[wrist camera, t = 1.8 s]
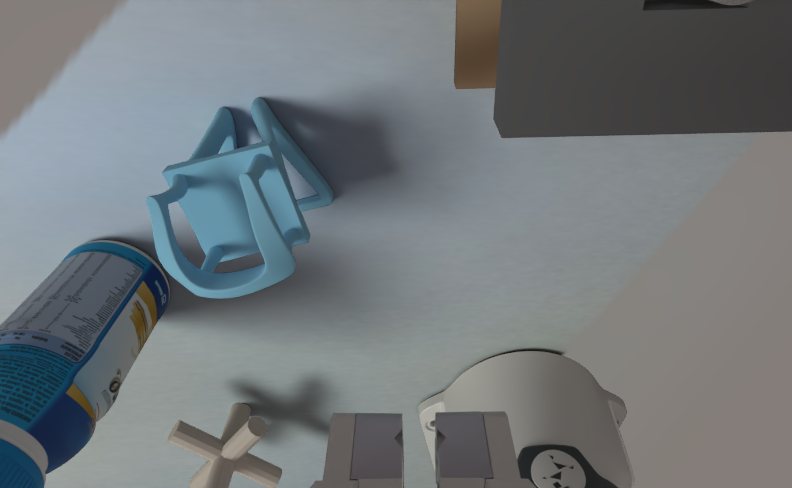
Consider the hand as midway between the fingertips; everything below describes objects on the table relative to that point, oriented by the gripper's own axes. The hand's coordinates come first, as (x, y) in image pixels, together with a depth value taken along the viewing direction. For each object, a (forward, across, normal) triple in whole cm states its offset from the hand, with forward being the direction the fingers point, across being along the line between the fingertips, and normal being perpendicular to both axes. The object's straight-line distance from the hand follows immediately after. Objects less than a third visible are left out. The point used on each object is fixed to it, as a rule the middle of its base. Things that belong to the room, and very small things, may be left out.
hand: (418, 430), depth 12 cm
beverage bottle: (+27, +23, +15) cm, 39 cm away
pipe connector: (+27, +16, +30) cm, 44 cm away
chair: (+27, +10, +5) cm, 29 cm away
